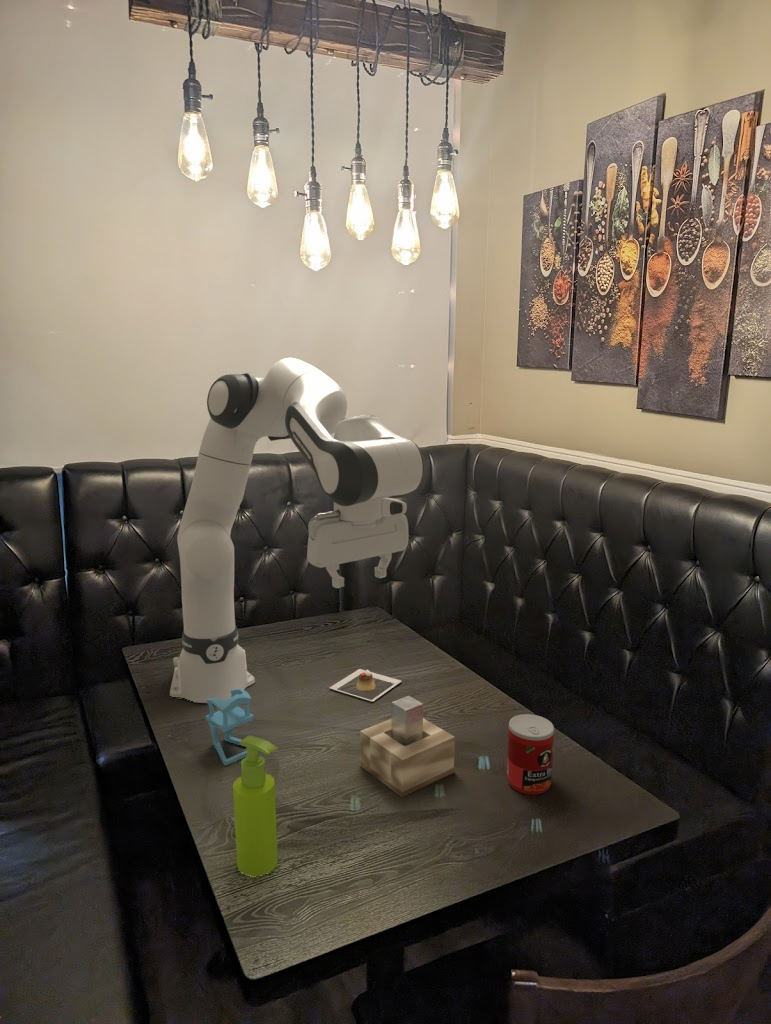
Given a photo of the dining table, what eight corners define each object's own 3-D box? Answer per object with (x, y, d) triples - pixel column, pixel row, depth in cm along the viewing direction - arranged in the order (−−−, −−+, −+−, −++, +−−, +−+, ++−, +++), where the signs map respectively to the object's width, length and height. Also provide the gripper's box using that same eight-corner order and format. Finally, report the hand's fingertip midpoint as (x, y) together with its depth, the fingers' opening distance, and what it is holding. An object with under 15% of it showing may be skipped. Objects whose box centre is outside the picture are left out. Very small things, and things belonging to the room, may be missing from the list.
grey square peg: (391, 763, 127) (391, 702, 124) (408, 755, 129) (408, 695, 127) (405, 773, 124) (405, 710, 121) (422, 765, 126) (423, 703, 124)
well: (360, 765, 128) (360, 730, 126) (411, 744, 135) (411, 710, 133) (402, 797, 118) (402, 760, 117) (453, 772, 126) (454, 736, 124)
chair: (236, 734, 139) (233, 678, 136) (261, 750, 133) (258, 691, 131) (202, 749, 133) (198, 691, 131) (225, 766, 128) (222, 705, 125)
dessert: (328, 692, 157) (328, 672, 156) (359, 673, 167) (359, 654, 166) (372, 706, 151) (372, 685, 150) (402, 685, 161) (402, 665, 160)
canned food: (525, 800, 117) (528, 741, 115) (497, 776, 124) (499, 719, 122) (561, 788, 121) (564, 730, 119) (531, 765, 128) (534, 709, 125)
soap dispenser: (264, 886, 98) (259, 757, 94) (228, 867, 102) (221, 743, 98) (291, 861, 103) (287, 738, 99) (256, 844, 107) (250, 725, 103)
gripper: (318, 518, 115) (320, 598, 118) (413, 502, 128) (413, 575, 130) (298, 511, 120) (301, 588, 123) (392, 497, 132) (392, 568, 135)
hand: (359, 581), depth 127 cm, fingers open, 8 cm apart
